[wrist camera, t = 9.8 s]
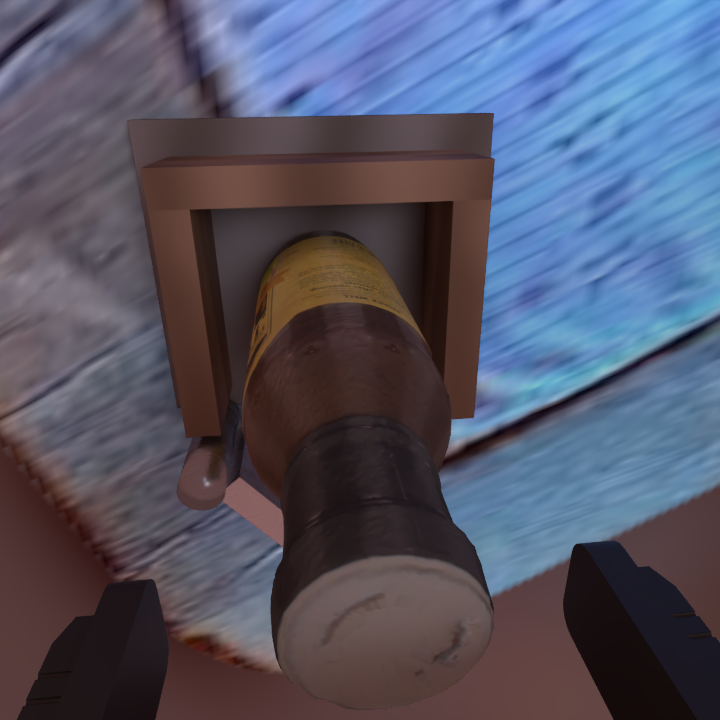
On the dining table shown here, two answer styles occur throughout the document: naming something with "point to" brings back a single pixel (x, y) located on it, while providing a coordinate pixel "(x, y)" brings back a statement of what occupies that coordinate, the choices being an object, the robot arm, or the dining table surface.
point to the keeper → (229, 478)
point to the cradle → (311, 214)
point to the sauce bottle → (358, 484)
